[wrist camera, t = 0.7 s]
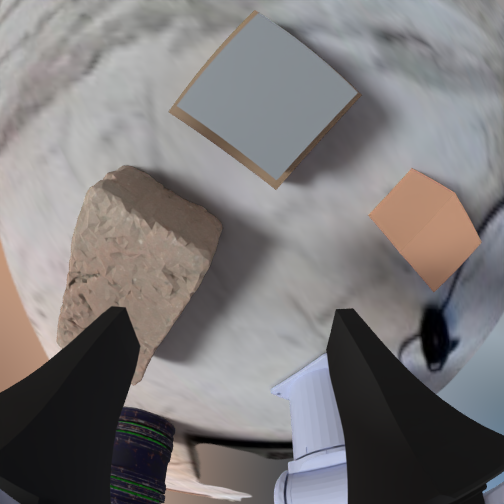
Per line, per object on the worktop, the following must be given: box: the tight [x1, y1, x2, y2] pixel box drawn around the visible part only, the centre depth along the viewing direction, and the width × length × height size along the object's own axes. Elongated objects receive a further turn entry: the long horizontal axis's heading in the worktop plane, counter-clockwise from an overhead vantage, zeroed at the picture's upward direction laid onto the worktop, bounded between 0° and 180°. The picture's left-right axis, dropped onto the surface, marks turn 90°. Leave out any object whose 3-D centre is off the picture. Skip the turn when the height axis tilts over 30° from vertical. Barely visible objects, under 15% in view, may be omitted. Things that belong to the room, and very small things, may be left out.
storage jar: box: [110, 407, 175, 504], centre depth 27 cm, size 10×10×15 cm
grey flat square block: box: [177, 13, 358, 180], centre depth 11 cm, size 6×6×2 cm
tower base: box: [169, 11, 362, 190], centre depth 13 cm, size 7×7×2 cm
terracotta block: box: [368, 168, 481, 292], centre depth 15 cm, size 4×4×5 cm
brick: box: [56, 166, 223, 386], centre depth 18 cm, size 17×8×5 cm, turn 148°
